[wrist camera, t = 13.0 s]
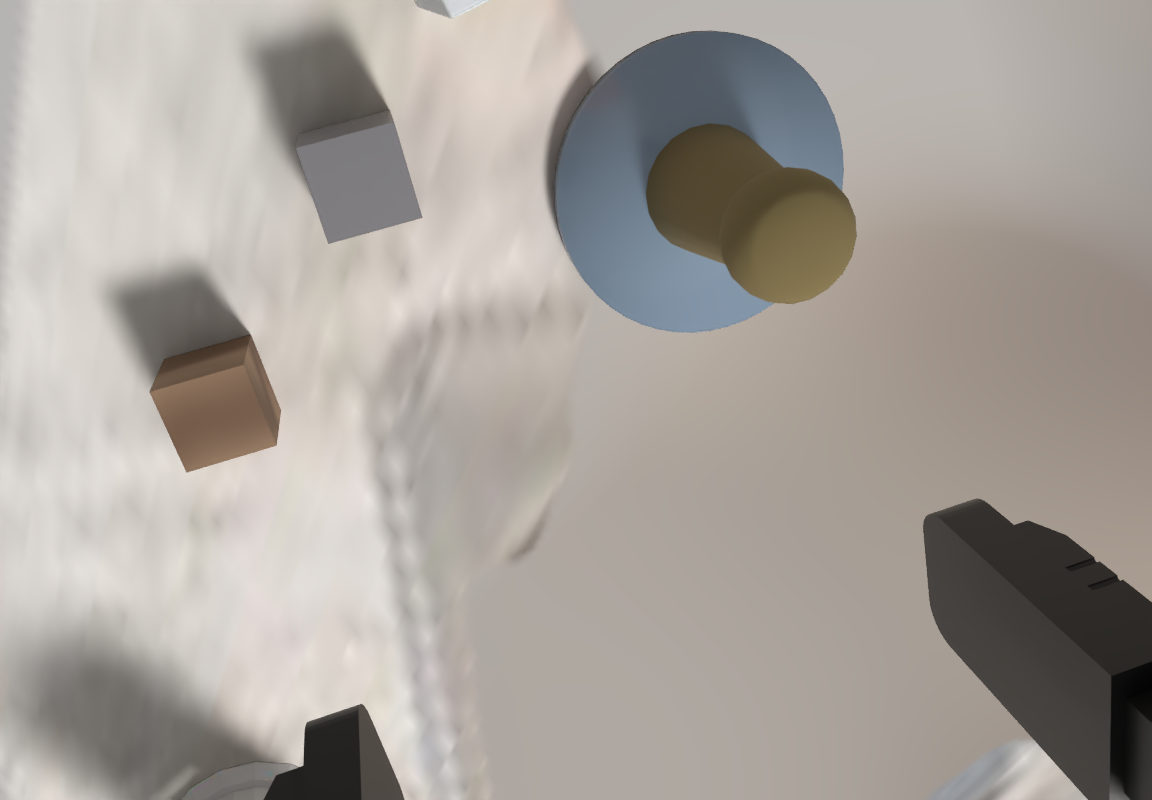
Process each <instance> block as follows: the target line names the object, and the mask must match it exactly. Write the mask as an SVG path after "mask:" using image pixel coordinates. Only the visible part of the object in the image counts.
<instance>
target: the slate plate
mask: <svg viewBox="0 0 1152 800" xmlns="http://www.w3.org/2000/svg"><path fill="white" fill-rule="evenodd" d="M709 123H711V124H721V125H729V126H731V127H733V128H735V129H737V130H739V131H741V132H743V133H745V134H747V135H748V136H749V137H750V138H751V139H752V140H753V141H755V142H756V143H757V144H758V145H759V146H760V147H761V148H762V149H764V150H765V151H766V152H767V153H768V154H769V155H770V156H771V157H773V158H774V159H775V160H776V161H777V162H778V163H779V164H780V165H782V166H783V167H784V168H785V167H793V168H803V169H809V170H811V171H814V172H816V173H818V174H820V175H822V176H824V177H826V178H828V179H830V180H832V181H833V182H834V183H835V185H836V186H837V187H838V188H839V189H840V190H841V191H842V185H843V172H844V168H843V150H842V144H841V138H840V133H839V130H838V127H837V123H836V120H835V117H834V114H833V112H832V110H831V107H830V105H829V103H828V101H827V99H826V97H825V95H824V94H823V92H822V91H821V89H820V88H819V86H818V85H817V83H816V82H815V81H814V79H813V78H812V77H811V76H810V75H809V74H808V72H807V71H806V70H805V69H804V68H803V67H802V66H801V65H799V64H798V63H797V62H796V61H795V60H794V59H792V58H791V57H790V56H789V55H787V54H785V53H784V52H782V51H781V50H779V49H777V48H776V47H774V46H772V45H770V44H767V43H765V42H762V41H760V40H758V39H755V38H751V37H748V36H744V35H740V34H735V33H728V32H718V31H692V32H686V33H681V34H676V35H671V36H668V37H665V38H662V39H660V40H656V41H653V42H651V43H649V44H647V45H645V46H643V47H641V48H639V49H637V50H636V51H634V52H632V53H631V54H629V55H628V56H626V57H625V58H623V59H622V60H620V61H619V62H617V63H616V64H615V65H614V66H613V67H612V68H611V69H610V70H608V71H607V72H606V73H605V74H604V75H603V76H602V77H601V78H600V79H599V80H598V81H597V82H596V84H595V85H594V86H593V87H592V88H591V89H590V91H589V92H588V93H587V95H586V96H585V98H584V99H583V100H582V102H581V103H580V105H579V106H578V108H577V109H576V111H575V113H574V115H573V117H572V119H571V121H570V123H569V125H568V127H567V130H566V133H565V135H564V138H563V141H562V144H561V147H560V150H559V155H558V159H557V164H556V170H555V181H554V204H555V213H556V219H557V224H558V229H559V232H560V235H561V238H562V241H563V245H564V247H565V249H566V251H567V253H568V255H569V257H570V260H571V262H572V263H573V265H574V266H575V268H576V269H577V271H578V272H579V274H580V276H581V277H582V278H583V279H584V281H585V282H586V283H587V284H588V285H589V287H590V288H591V289H592V290H593V291H594V292H595V294H596V295H597V296H598V297H599V298H601V299H602V300H603V301H604V302H605V303H606V304H608V305H609V306H610V307H611V308H613V309H614V310H616V311H617V312H619V313H620V314H622V315H623V316H625V317H627V318H629V319H631V320H633V321H636V322H638V323H640V324H642V325H645V326H649V327H652V328H655V329H659V330H665V331H672V332H691V333H693V332H702V331H711V330H715V329H720V328H724V327H728V326H730V325H733V324H736V323H739V322H742V321H744V320H746V319H748V318H750V317H752V316H754V315H756V314H758V313H760V312H762V311H763V310H765V309H766V308H768V307H769V306H771V305H772V304H774V303H772V302H767V301H764V300H762V299H760V298H757V297H755V296H753V295H750V294H749V293H748V292H747V291H746V290H744V289H743V288H742V287H741V286H740V285H739V284H738V283H737V282H736V281H735V280H734V279H733V278H732V277H731V275H730V273H729V271H728V269H727V267H726V265H725V264H722V263H719V262H717V261H714V260H711V259H708V258H706V257H703V256H700V255H697V254H695V253H692V252H689V251H687V250H684V249H682V248H680V247H677V246H675V245H673V244H671V243H670V242H669V241H668V240H667V239H666V238H664V237H663V236H662V235H661V234H660V233H659V232H658V231H657V229H656V227H655V225H654V223H653V221H652V219H651V217H650V215H649V212H648V205H647V199H646V190H647V183H648V176H649V172H650V170H651V168H652V166H653V164H654V162H655V160H656V157H657V155H658V154H659V153H660V152H661V151H662V149H663V148H664V147H665V146H666V145H667V144H668V143H669V142H670V140H671V139H672V138H674V137H676V136H677V135H679V134H681V133H682V132H684V131H686V130H687V129H689V128H692V127H696V126H700V125H704V124H709Z"/></svg>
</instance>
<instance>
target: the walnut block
mask: <svg viewBox="0 0 1152 800" xmlns="http://www.w3.org/2000/svg"><path fill="white" fill-rule="evenodd" d="M150 394H151V396H152V398H153V400H154V403H155V405H156V407H157V409H158V411H159V414H160V416H161V418H162V420H163V422H164V424H165V427H166V429H167V431H168V433H169V435H170V437H171V440H172V442H173V444H174V446H175V448H176V451H177V453H178V455H179V457H180V459H181V461H182V464H183V466H184V468H185V470H186V472H190V471H193V470H197V469H200V468H203V467H207V466H210V465H213V464H217V463H220V462H223V461H227V460H230V459H233V458H237V457H240V456H243V455H247V454H250V453H253V452H257V451H260V450H263V449H267V448H270V447H273V446H276V445H277V438H278V430H279V422H280V414H281V409H280V407H279V404H278V402H277V399H276V397H275V394H274V392H273V389H272V387H271V384H270V382H269V379H268V377H267V374H266V372H265V369H264V367H263V364H262V362H261V359H260V356H259V354H258V351H257V349H256V346H255V344H254V341H253V339H252V336H251V335H248V336H244V337H241V338H237V339H234V340H230V341H227V342H223V343H220V344H216V345H213V346H209V347H206V348H202V349H199V350H195V351H192V352H188V353H185V354H181V355H178V356H174V357H171V358H167V359H164V361H163V363H162V365H161V368H160V370H159V372H158V374H157V377H156V379H155V381H154V383H153V386H152V388H151V390H150Z"/></svg>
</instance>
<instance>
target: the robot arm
mask: <svg viewBox="0 0 1152 800" xmlns="http://www.w3.org/2000/svg"><path fill="white" fill-rule="evenodd" d="M923 532H924V543H925V554H926V566H927V577H928V588H929V599H930V606H931V610H932V613H933V616H934V619H935V621H936V624H937V626H938V628H939V630H940V632H941V634H942V636H943V637H944V639H945V640H946V642H947V643H948V644H949V646H950V647H951V648H952V649H953V650H954V651H955V652H956V653H957V655H958V656H959V657H960V658H961V659H962V660H963V661H964V662H965V664H966V665H967V666H968V667H969V668H970V669H971V670H972V671H973V672H974V674H975V675H976V676H977V677H978V678H979V679H980V680H981V681H982V682H983V684H984V685H985V686H986V687H987V688H988V689H989V690H990V691H991V692H992V693H993V695H994V696H995V697H996V698H997V699H998V700H999V701H1000V702H1001V703H1002V705H1003V706H1004V707H1005V708H1006V709H1007V710H1008V711H1009V712H1010V714H1011V715H1012V716H1013V717H1014V718H1015V719H1016V720H1017V721H1018V722H1019V724H1020V725H1021V726H1022V727H1023V728H1024V729H1025V730H1026V731H1027V732H1028V734H1029V735H1030V736H1031V737H1032V738H1033V739H1034V740H1035V741H1036V742H1037V744H1038V745H1039V746H1040V747H1041V748H1042V749H1043V750H1044V751H1045V752H1046V754H1047V755H1048V756H1049V757H1050V758H1051V759H1052V760H1053V761H1054V762H1055V764H1056V765H1057V766H1058V767H1059V768H1060V769H1061V770H1062V771H1063V772H1064V774H1065V775H1066V776H1067V777H1068V778H1069V779H1070V780H1071V781H1072V782H1073V784H1074V785H1075V786H1076V787H1077V788H1078V789H1079V790H1080V791H1081V792H1082V794H1083V795H1084V796H1085V797H1086V798H1087V799H1088V800H1152V602H1151V601H1149V600H1148V599H1147V598H1145V597H1144V596H1143V595H1142V594H1140V593H1139V592H1138V591H1137V590H1135V589H1134V588H1133V587H1131V586H1130V585H1129V584H1128V583H1126V582H1125V581H1124V580H1122V581H1120V580H1119V579H1118V577H1117V575H1116V574H1115V573H1114V572H1112V571H1111V570H1110V569H1108V568H1107V567H1106V566H1105V565H1103V564H1102V563H1101V562H1096V561H1095V559H1094V557H1093V556H1092V555H1090V554H1089V553H1088V552H1087V551H1086V550H1084V549H1083V548H1082V547H1080V546H1079V545H1078V544H1076V543H1075V542H1074V541H1073V540H1072V539H1070V538H1069V537H1068V536H1066V535H1064V534H1061V533H1059V532H1056V531H1054V530H1051V529H1049V528H1046V527H1043V526H1041V525H1038V524H1036V523H1033V522H1030V521H1025V522H1022V523H1019V524H1016V525H1013V524H1012V523H1011V522H1010V521H1008V520H1007V519H1006V518H1005V517H1004V516H1002V515H1001V514H1000V513H999V512H997V511H996V510H995V509H994V508H992V506H990V505H989V504H988V503H986V502H985V501H983V500H981V499H974V500H971V501H967V502H965V503H962V504H959V505H956V506H953V507H950V508H947V509H944V510H941V511H938V512H935V513H932V514H929V515H927V516H926V518H925V519H924V525H923ZM264 800H404V797H403V794H402V791H401V788H400V785H399V783H398V780H397V778H396V776H395V773H394V771H393V769H392V766H391V764H390V762H389V759H388V757H387V755H386V752H385V750H384V748H383V746H382V743H381V741H380V739H379V736H378V734H377V732H376V729H375V727H374V725H373V722H372V720H371V718H370V716H369V713H368V711H367V710H366V708H365V707H364V705H362V704H360V705H357V706H354V707H351V708H348V709H345V710H342V711H339V712H336V713H333V714H330V715H327V716H324V717H321V718H318V719H315V720H312V721H309V722H307V724H306V727H305V739H304V766H302V767H299V768H296V769H293V770H290V771H287V772H284V773H281V774H278V775H276V776H275V778H274V780H273V782H272V784H271V786H270V788H269V790H268V792H267V794H266V796H265V798H264Z"/></svg>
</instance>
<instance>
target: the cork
mask: <svg viewBox="0 0 1152 800" xmlns="http://www.w3.org/2000/svg"><path fill="white" fill-rule="evenodd" d="M646 199H647V205H648V212H649V215H650V217H651V219H652V221H653V223H654V225H655V227H656V229H657V231H658V232H659V233H660V234H661V235H662V236H663V237H664V238H666V239H667V240H668V241H669V242H670V243H671V244H673V245H675V246H677V247H680V248H682V249H684V250H687V251H689V252H692V253H695V254H697V255H700V256H703V257H706V258H708V259H711V260H714V261H717V262H719V263H722V264H725V265H726V267H727V269H728V271H729V273H730V275H731V277H732V278H733V279H734V280H735V281H736V282H737V283H738V284H739V285H740V286H741V287H742V288H743V289H744V290H746V291H747V292H748V293H749V294H750V295H753V296H755V297H757V298H760V299H762V300H764V301H767V302H772V303H785V304H794V303H798V302H802V301H806V300H809V299H812V298H814V297H815V296H817V295H818V294H820V293H822V292H824V291H825V290H827V289H828V288H829V287H830V286H831V285H832V284H833V283H834V282H835V281H836V280H837V279H838V278H839V277H840V276H841V275H842V274H843V272H844V270H845V268H846V267H847V265H848V263H849V261H850V259H851V257H852V254H853V250H854V245H855V240H856V236H857V235H856V221H855V215H854V213H853V210H852V208H851V205H850V203H849V200H848V198H847V197H846V196H845V195H844V193H843V192H842V191H841V190H840V189H839V188H838V187H837V186H836V185H835V183H834V182H833V181H832V180H830V179H828V178H826V177H824V176H822V175H820V174H818V173H816V172H814V171H811V170H809V169H803V168H793V167H785V168H784V167H783V166H782V165H780V164H779V163H778V162H777V161H776V160H775V159H774V158H773V157H771V156H770V155H769V154H768V153H767V152H766V151H765V150H764V149H762V148H761V147H760V146H759V145H758V144H757V143H756V142H755V141H753V140H752V139H751V138H750V137H749V136H748V135H747V134H745V133H743V132H741V131H739V130H737V129H735V128H733V127H731V126H729V125H721V124H711V123H709V124H704V125H700V126H696V127H692V128H689V129H687V130H686V131H684V132H682V133H681V134H679V135H677V136H676V137H674V138H672V139H671V140H670V142H669V143H668V144H667V145H666V146H665V147H664V148H663V149H662V151H661V152H660V153H659V154H658V155H657V157H656V160H655V162H654V164H653V166H652V168H651V170H650V172H649V176H648V183H647V190H646Z"/></svg>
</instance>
